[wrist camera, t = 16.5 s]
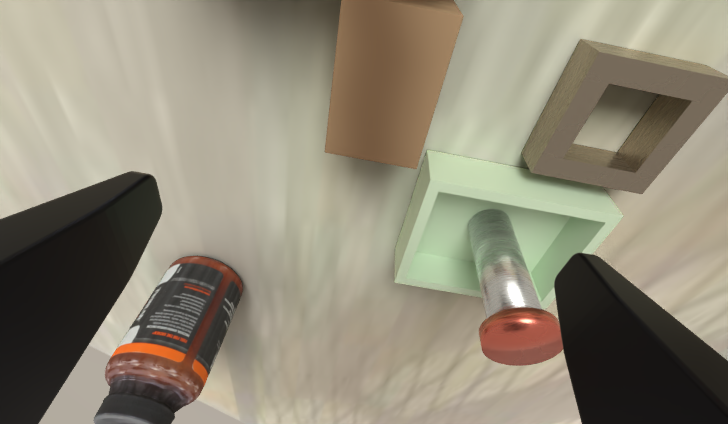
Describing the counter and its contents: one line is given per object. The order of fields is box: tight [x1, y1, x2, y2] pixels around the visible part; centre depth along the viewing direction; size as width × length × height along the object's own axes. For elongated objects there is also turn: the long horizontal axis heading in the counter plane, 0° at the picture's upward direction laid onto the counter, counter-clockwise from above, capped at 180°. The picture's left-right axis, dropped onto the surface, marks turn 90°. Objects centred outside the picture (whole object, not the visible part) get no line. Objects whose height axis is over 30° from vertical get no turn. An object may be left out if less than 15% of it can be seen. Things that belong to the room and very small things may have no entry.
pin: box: [468, 209, 563, 365], centre depth 20 cm, size 4×4×8 cm
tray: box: [394, 150, 624, 309], centre depth 22 cm, size 10×8×3 cm
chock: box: [325, 0, 464, 169], centre depth 16 cm, size 4×6×5 cm, turn 171°
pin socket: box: [522, 39, 728, 194], centre depth 18 cm, size 6×6×2 cm
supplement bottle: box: [94, 256, 243, 424], centre depth 25 cm, size 6×6×11 cm
